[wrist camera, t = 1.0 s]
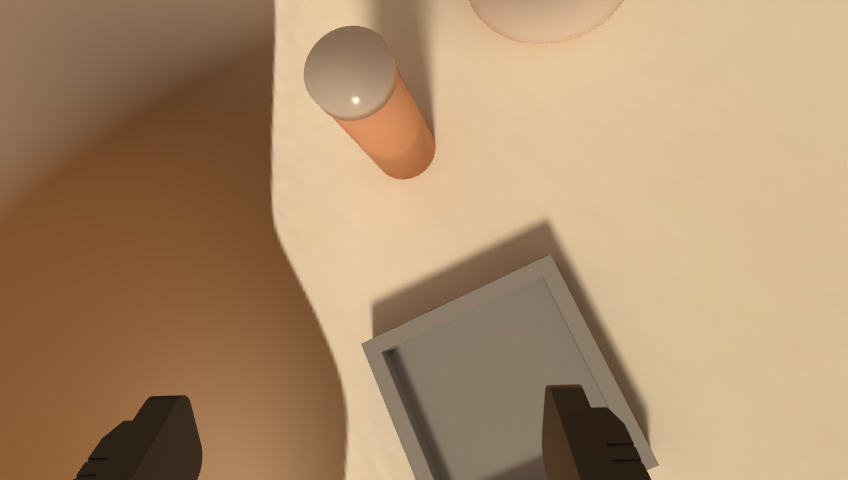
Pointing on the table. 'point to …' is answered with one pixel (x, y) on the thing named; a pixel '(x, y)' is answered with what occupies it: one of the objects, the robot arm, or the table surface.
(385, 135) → the shaker
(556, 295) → the tray
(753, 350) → the table surface
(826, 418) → the table surface
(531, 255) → the table surface
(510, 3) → the flower in vase
